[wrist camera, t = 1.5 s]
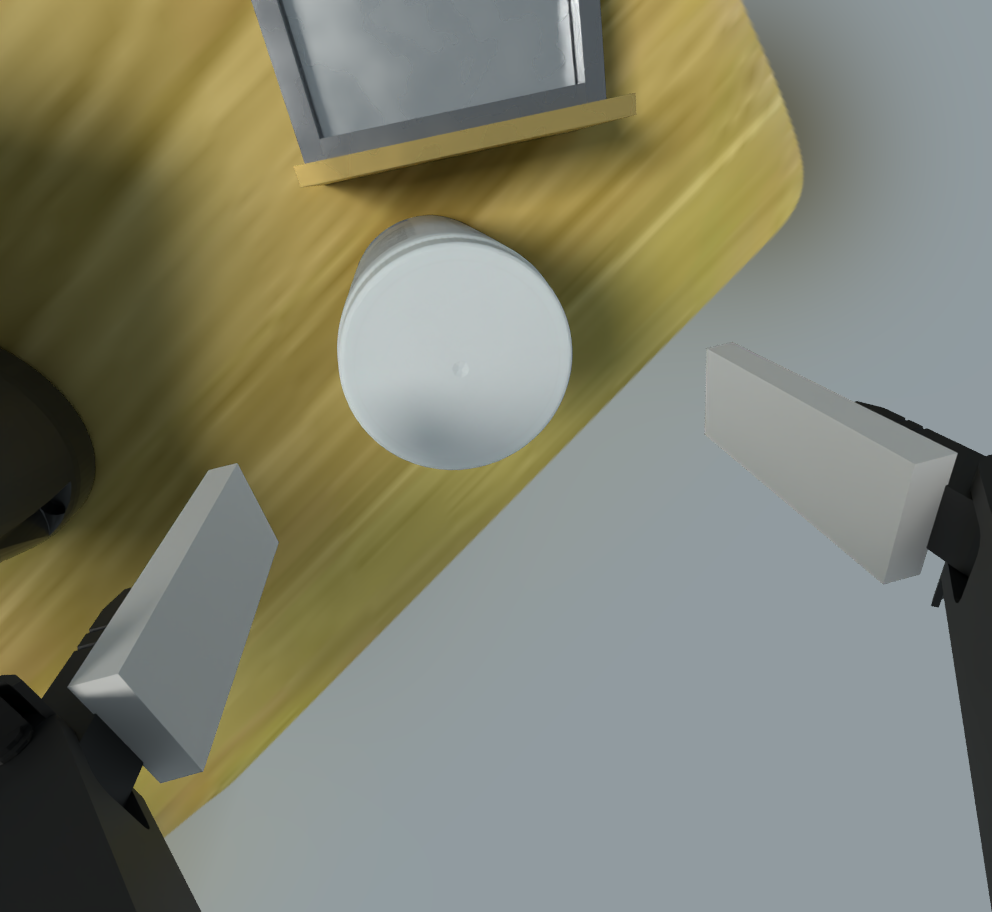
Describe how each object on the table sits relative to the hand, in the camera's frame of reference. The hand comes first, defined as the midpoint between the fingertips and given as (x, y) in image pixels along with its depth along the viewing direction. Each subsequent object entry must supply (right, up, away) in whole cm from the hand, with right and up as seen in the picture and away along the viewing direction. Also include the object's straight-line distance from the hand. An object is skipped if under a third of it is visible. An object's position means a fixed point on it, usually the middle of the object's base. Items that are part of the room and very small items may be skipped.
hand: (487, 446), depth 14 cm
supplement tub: (-4, +10, +18) cm, 21 cm away
